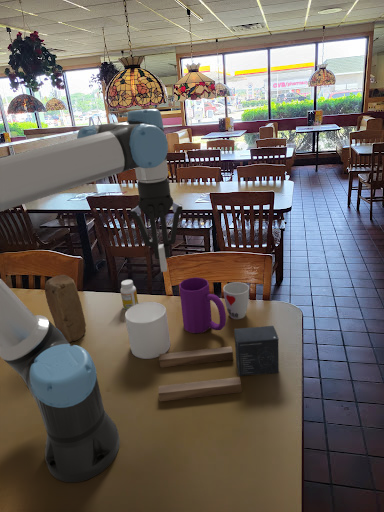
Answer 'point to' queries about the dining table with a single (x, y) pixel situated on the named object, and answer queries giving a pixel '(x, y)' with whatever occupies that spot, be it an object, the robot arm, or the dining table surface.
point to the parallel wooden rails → (202, 386)
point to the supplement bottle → (128, 294)
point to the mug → (199, 306)
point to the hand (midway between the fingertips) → (164, 269)
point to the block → (65, 307)
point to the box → (256, 350)
